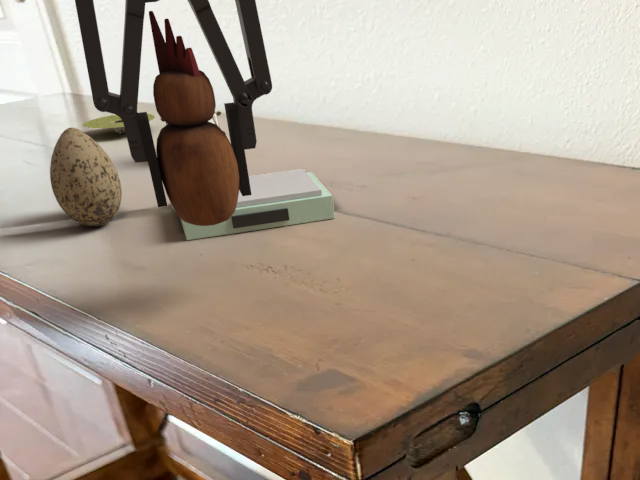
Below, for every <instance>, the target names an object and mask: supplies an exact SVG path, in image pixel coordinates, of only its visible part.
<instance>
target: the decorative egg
mask: <svg viewBox="0 0 640 480" xmlns="http://www.w3.org/2000/svg"><path fill="white" fill-rule="evenodd" d="M49 178H50V185H51V189H52V193H53V195H54V198H55V200H56V202H57V203H58V206H59V207H60V208H61V210H62V211H63V212H64V214H66V216H68V218H70V219H71V220H73V221H74V222H76V223H78V224H80V225H83V226H84V227H85V226H86V227H90V228H91V227H93V228H94V227H95V228H98V227H102V226H104V225H107V224H108V223H109V222H110V221H112V220H113V219H114V218H115V217H116V215H117V214H118V212H119V209H120V207H121V203H122V197H123V190H122V189H123V188H122V183H121V180H120V175H119V173H118V170H117V168H116V166H115V165H114V163H113V161H112V159H111V157H110V156H109V155H108V153H107V152H106V151H105V150H104V149H103V148H102V146H101V145H100V144H99V143H98V142H97V141H96V140H94V138H93V137H91V136H89V135H88V134H87V133H85V132H84V131H82V130H81V129H79V128H77V127H67V128H66V129H65V130H63V131H62V133H61V134H60V136H59V138H58V139H57V140H56V143H55V145H54V147H53V151H52V154H51V158H50V165H49Z"/></svg>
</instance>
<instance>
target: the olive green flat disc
mask: <svg viewBox="0 0 640 480" xmlns="http://www.w3.org/2000/svg"><path fill="white" fill-rule="evenodd" d="M147 115H148V119H149V122H151V121H153V120H154V119H155V114H151V113H147ZM82 126H83V127H84V128H88V129H89V128H90V129H114V132H115V133H116V134H120V135H122V134H124V133H125V134H126V132H125V127H124V123H123V121H122V119H121V118H120V117H119V116H118V115H116V114H111V115H106V116H102V117H101V116H100V117H96V118H93V119H90V120H88V121H87V120H86V121H85V122H83V123H82Z"/></svg>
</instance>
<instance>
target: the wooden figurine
mask: <svg viewBox="0 0 640 480" xmlns="http://www.w3.org/2000/svg"><path fill="white" fill-rule="evenodd" d="M148 17H149V23H150V27H151V28H150V29H151V35H152V41H153V45H154V52H155V57H156V62H157V67H158V72H159V73H158V74H157V75H156V76H155V78H154V81H153V84H152V85H153V87H152V94H153V100H154V104H155V109H156V112H157V114H158V115H159V117H160V118H162V119H163V120H164V121H165V125H164V126H163V127H162V128H161V129H160V131H159V133H158V135H157V138H156V147H155V151H156V156H157V160H158V165H159V169H160V174H161V179H162V183H163V188H164V191H165V194H166V196H167V198H168V200H169V202H170V204H171V207H172V208H173V210H174V211H175V213H176V215H177V216H178V217H179V219H180V218H181V219H182V220H183V221H184V222H187V223H189V224H193V225H198V226H210V225H216V224H219V223H221V222H224V221H227V220H228V219H229V218H230V217H231V216H232V215H233V213H234V212H235V209H236V205H237V201H238V194H239V171H238V165H237V160H236V157H235V153H234V150H233V147H232V146H231V142H230V139H229V138H228V136H227V133H226V132H225V131H224V130H222V129H221V127H220V126H219V127H220V128H219V127H218V126H217V125H216V124H213V123H211V122H208V121H209V120H210V119H212V117H213V115H214V113H216V105H217V104H216V96H215V93H214V88H213V85H212V83H211V81H210V78H209V77H208V76H207V74H206V73H205V72H204V71H203V70H200V68H199V66H198V62H197V59H196V57H195V54H194V51H193V48H192V47H186V46H185V42H184V40H183V36H182V35H176V38H175V35H174V32H173V29H172V24H171V22H170V19H169V18H164V21H163V22H164V35H165V36H163V32H162V30H161V28H160V25H159V23H158V21H157V20H158V19H157V18H156V16H155V13H154V11H153V10H149V11H148ZM164 37H165V38H164ZM166 123H168V124H167V125H166ZM223 131H224V132H225V133H226V134H225V133H224V132H223ZM181 219H180V220H181Z"/></svg>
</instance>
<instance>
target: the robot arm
mask: <svg viewBox="0 0 640 480" xmlns="http://www.w3.org/2000/svg"><path fill="white" fill-rule="evenodd" d="M74 2H75V8H76V14H77V19H78V24H79V32H80V36H81V41H82V47H83V52H84V58H85V64H86V69H87V73H88V74H87V75H88V80H89V85H90V92H91V96H92V102H93V106H94V108H95V109H96V110H97V111H99V112H101V113H108V114H111V115H118V116H119V117H120V118H121V119H122V121H123V123H124V127H125V135H126V139H127V144H128V148H129V152H130V157H131V158H132V160H133V161H134V163H136V164H137V163H144V162H145V163H146V162H147V164H148V168H149V173H150V177H151V178H150V179H151V182H152V186H153V191H154V195H155V199H156V204H157V208H164V207H165V208H166V207H168V201H167V198H166V191H165V187H164V185H163V182H162V179H161V174H160V169H159V165H158V160H157V154H156V147H155V142H154V138H153V133H152V128H151V123H150V121H149V119H148V115H147V114H148V112H147V111H141V112H138V104H139V103H138V102H139V88H140V75H141V64H142V63H141V62H142V61H141V60H142V48H143V35H144V34H143V33H144V22H145V21H144V20H145V11H146V4H148V3H157V2H160V0H125V2H124V3H125V4H124V25H123V39H122V56H121V71H120V87H119V94H118V93H114V92H110V91H109V85H108V78H107V74H106V72H107V71H106V67H105V61H104V55H103V50H102V44H101V39H100V33H99V27H98V20H97V15H96V9H95V8H96V7H95V2H94V0H74ZM187 2H188V4H189V6H190V9H191V10H192V12H193V14H194V16H195V19H196V21H197V23H198V25H199V27H200V30H201V32H202V34H203V36H204V38H205V40H206V42H207V45H208V47H209V49H210V51H211V53H212V55H213V58H214V60H215V62H216V64H217V66H218V69H219V71H220V73H221V76H222V77H223V79H224V81H225V83H226V85H227V88H228V90H229V92H230V94H231V96H232V100H233V101H232V102H226V103H223V105H224V110H225V117H226V123H227V129H228V135H229V142H230V144H231V146H232V147H233V150H234V153H235V157H236V160H237V165H238V171H239V190H240V192H241V194H242V196H249V195H251V188H250V182H249V176H250V175H249V170H248V164H247V157H246V151H245V150H251V149H256V147H257V141H258V140H257V134H256V127H255V121H254V114H253V104H254V102H255V101H256V100H257V99H259V98H261V97H262V96H267V95H268V94H270V93H271V92H272V90H273V82H272V76H271V72H270V71H271V70H270V68H269V61H268V58H267V52H266V47H265V42H264V36H263V31H262V28H261V21H260V17H259V11H258V7H257V2H256V0H234V2H235V7H236V13H237V15H238V16H237V17H238V21H239V25H240V30H241V35H242V40H243V45H244V49H245V54H246V59H247V63H248V68H249V72H250V78H248V79H247V80H244V78H243V76H242V73H241V71H240V69H239V67H238V64H237V62H236V60H235V58H234V56H233V53H232V51H231V49H230V47H229V44H228V42H227V40H226V38H225V36H224V35H225V34H224V33H223V31H222V29H221V27H220V26H221V25H220V24H219V22H218V20H217V17H216V16H215V13H214V11H213V9H212V6H211V3H210V1H209V0H187Z"/></svg>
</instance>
